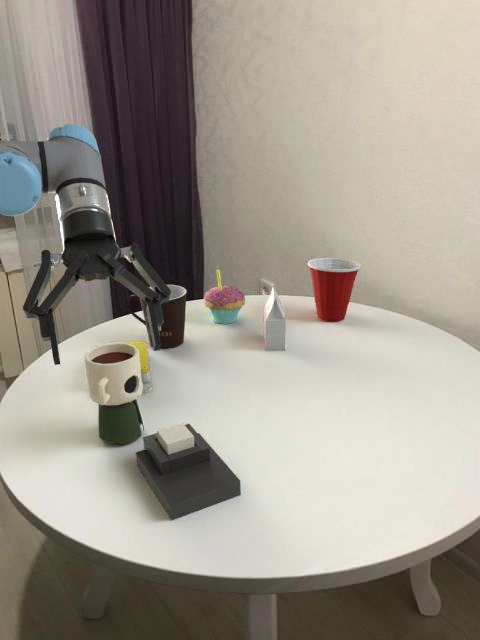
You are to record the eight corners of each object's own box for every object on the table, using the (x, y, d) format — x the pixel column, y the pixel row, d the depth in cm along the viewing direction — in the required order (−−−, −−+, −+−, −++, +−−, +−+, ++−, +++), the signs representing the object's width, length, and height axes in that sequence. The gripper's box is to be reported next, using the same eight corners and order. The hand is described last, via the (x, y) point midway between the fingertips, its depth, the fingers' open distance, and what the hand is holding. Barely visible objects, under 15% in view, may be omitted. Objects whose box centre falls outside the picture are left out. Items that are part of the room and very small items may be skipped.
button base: (136, 465, 77) (133, 439, 76) (199, 445, 81) (197, 420, 80) (171, 520, 68) (169, 493, 66) (240, 495, 72) (240, 468, 70)
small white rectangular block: (157, 441, 76) (156, 430, 75) (183, 434, 77) (182, 422, 77) (168, 456, 73) (167, 444, 72) (194, 447, 75) (194, 436, 74)
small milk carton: (283, 335, 115) (283, 286, 111) (285, 350, 109) (286, 299, 105) (264, 335, 115) (264, 286, 111) (265, 350, 109) (265, 299, 104)
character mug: (134, 459, 78) (124, 373, 73) (83, 456, 79) (69, 370, 73) (157, 416, 88) (149, 337, 82) (111, 413, 89) (100, 335, 83)
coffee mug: (198, 341, 112) (196, 292, 108) (162, 356, 107) (158, 304, 102) (161, 325, 120) (157, 278, 115) (125, 337, 114) (120, 289, 110)
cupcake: (230, 330, 117) (229, 272, 112) (195, 322, 121) (192, 266, 116) (252, 316, 124) (252, 261, 119) (219, 309, 127) (217, 255, 122)
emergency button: (146, 331, 106) (150, 368, 93) (148, 352, 108) (152, 392, 95) (93, 335, 104) (89, 374, 91) (96, 357, 106) (93, 398, 93)
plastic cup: (363, 312, 126) (367, 257, 121) (349, 330, 117) (353, 272, 112) (315, 304, 130) (317, 251, 125) (298, 321, 121) (299, 265, 116)
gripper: (-10, 213, 80) (7, 357, 74) (171, 201, 88) (200, 331, 82) (0, 242, 87) (15, 376, 81) (166, 228, 95) (193, 350, 88)
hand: (108, 354), depth 81 cm, fingers open, 13 cm apart
